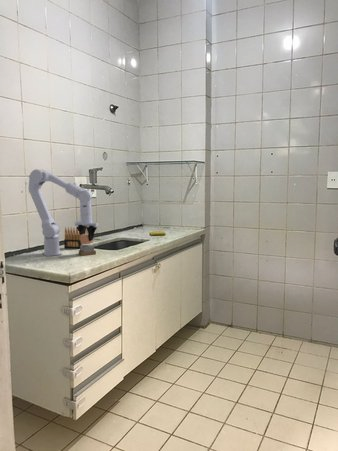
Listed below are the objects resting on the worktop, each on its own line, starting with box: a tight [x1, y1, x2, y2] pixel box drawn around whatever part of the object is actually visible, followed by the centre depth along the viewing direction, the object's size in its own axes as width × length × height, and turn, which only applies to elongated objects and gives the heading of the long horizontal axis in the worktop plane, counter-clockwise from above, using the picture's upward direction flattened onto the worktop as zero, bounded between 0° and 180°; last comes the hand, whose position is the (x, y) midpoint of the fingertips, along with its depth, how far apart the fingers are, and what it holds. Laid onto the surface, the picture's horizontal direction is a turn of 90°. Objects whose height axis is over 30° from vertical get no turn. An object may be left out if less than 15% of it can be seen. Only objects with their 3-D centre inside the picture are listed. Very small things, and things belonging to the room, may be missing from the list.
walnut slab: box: [78, 249, 97, 257], centre depth 196 cm, size 7×7×2 cm
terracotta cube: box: [80, 233, 94, 245], centre depth 195 cm, size 4×4×4 cm
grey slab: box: [79, 244, 95, 252], centre depth 196 cm, size 6×6×2 cm
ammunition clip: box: [63, 227, 83, 250], centre depth 212 cm, size 11×2×12 cm, turn 74°
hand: (87, 240), depth 195 cm, fingers open, 4 cm apart
